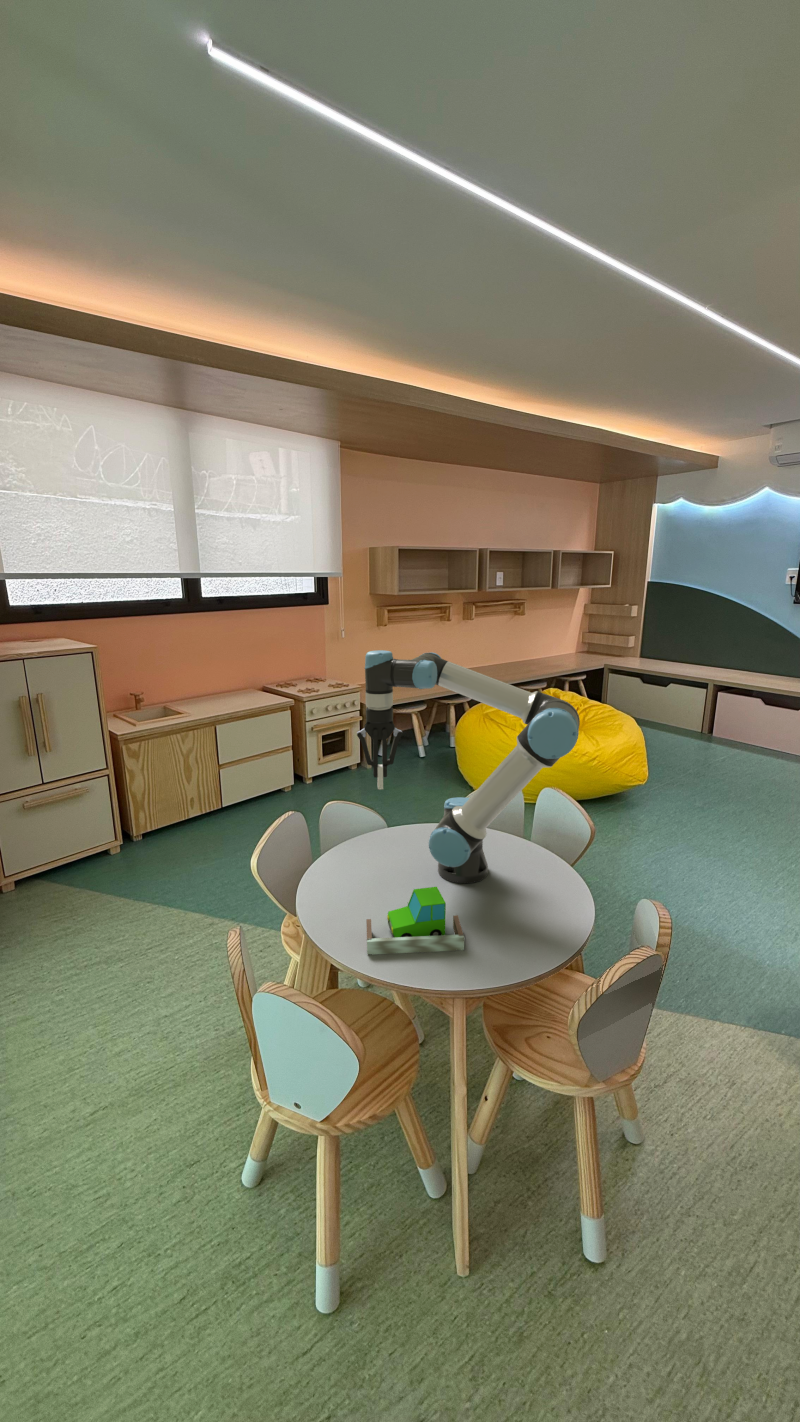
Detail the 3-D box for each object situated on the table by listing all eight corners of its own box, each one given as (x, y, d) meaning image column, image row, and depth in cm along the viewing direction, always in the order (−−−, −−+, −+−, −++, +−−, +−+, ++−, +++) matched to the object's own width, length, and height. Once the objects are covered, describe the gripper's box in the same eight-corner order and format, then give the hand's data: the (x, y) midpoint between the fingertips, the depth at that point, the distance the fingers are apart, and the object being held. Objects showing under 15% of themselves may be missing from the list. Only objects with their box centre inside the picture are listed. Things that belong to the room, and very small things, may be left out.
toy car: (386, 925, 158) (385, 890, 156) (435, 919, 161) (435, 884, 158) (394, 948, 148) (393, 911, 146) (446, 941, 151) (446, 905, 149)
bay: (457, 927, 156) (457, 915, 156) (463, 950, 147) (464, 937, 146) (366, 931, 155) (366, 919, 154) (367, 954, 146) (366, 941, 145)
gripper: (401, 703, 172) (402, 782, 177) (355, 704, 171) (357, 783, 176) (404, 709, 165) (404, 791, 170) (355, 710, 164) (357, 793, 169)
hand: (380, 787), depth 173 cm, fingers closed
